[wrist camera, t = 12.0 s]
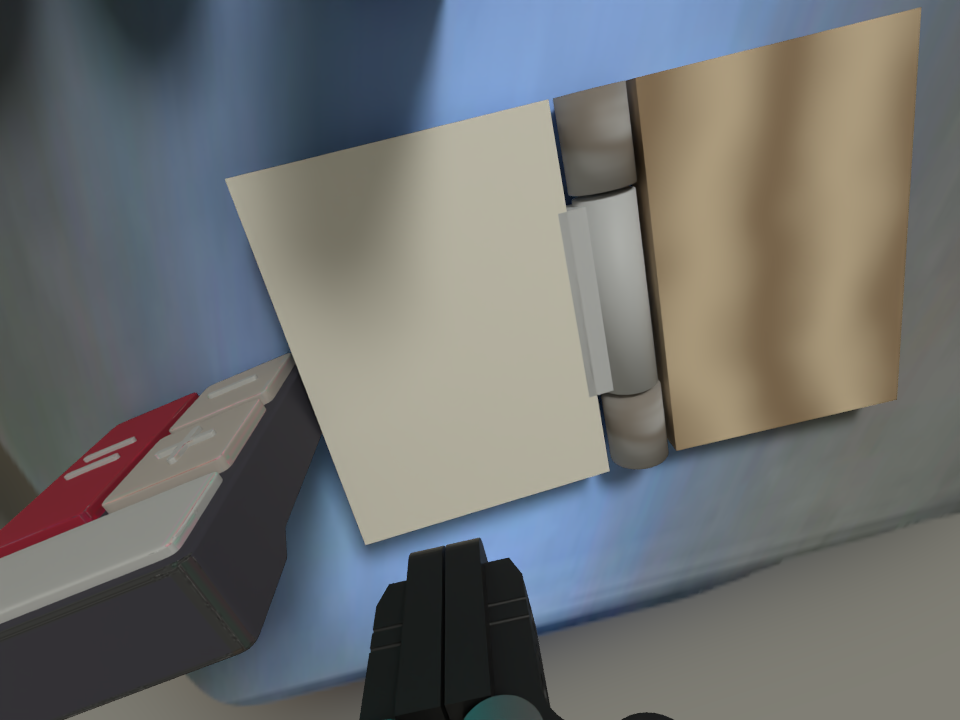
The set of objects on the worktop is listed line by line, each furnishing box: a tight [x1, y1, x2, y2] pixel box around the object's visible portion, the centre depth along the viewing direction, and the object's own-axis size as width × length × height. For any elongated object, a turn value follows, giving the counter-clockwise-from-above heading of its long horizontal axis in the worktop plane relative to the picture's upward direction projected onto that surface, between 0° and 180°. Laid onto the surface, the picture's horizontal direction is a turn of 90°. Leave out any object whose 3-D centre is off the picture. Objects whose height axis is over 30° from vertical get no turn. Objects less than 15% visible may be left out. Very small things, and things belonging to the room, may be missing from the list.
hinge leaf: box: [225, 100, 658, 545], centre depth 26 cm, size 16×18×3 cm
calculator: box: [0, 353, 322, 720], centre depth 23 cm, size 11×4×15 cm, turn 112°
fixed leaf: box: [553, 7, 921, 469], centre depth 27 cm, size 15×18×3 cm
